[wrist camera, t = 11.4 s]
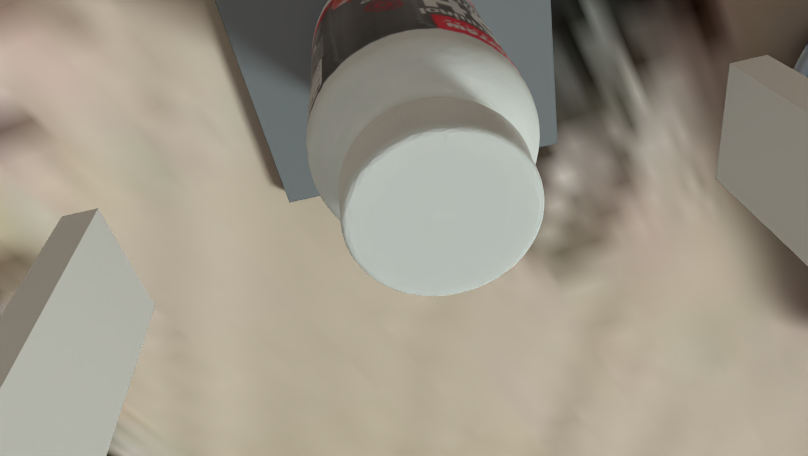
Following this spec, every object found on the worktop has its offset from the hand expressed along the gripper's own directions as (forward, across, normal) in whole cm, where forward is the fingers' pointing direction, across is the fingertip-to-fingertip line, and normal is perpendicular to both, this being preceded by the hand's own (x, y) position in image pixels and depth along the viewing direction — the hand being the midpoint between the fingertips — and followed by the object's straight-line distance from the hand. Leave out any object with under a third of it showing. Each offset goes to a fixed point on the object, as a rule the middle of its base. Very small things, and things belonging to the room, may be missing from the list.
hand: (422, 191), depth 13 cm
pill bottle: (+8, 0, 0) cm, 9 cm away
